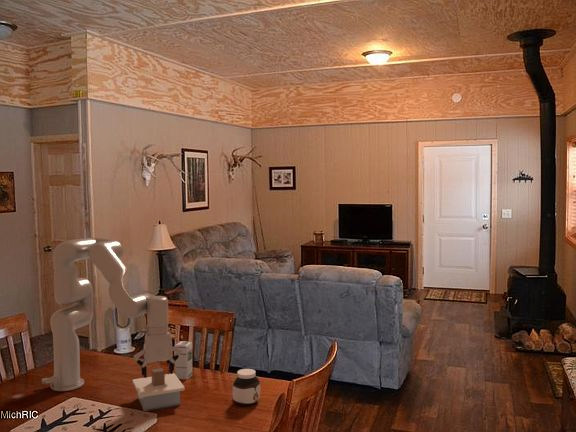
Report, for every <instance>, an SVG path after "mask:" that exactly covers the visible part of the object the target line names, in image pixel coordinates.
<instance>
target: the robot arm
mask: <svg viewBox="0 0 576 432" xmlns="http://www.w3.org/2000/svg"><path fill="white" fill-rule="evenodd" d="M124 252H125V251H124V247H123V245H122V244H121V243H120V242H119V241H118V240H115V239H106V238H99V237H85V238H77V239H70V240H69V239H68V240H65V241H62V242H60V243H59V244H58V245H56V246H55V248H54V249H53V251H52V263H53V270H54V273H53V274H54V276H53V277H54V280H53V281H54V282H53V284H54V285H53V287H54V291H53V292H54V300H55V302H56V303H57V304H58V305H60V306H65V307H62V308H59V309H58V310H56V311H55V312H53V314H51V316H50V319H49V323H50V329H51V333H52V341H53V342H52V343H53V374H52V375H53V376H50V377H45V378H44V377H43V378H41V384H45V385H49V387H50V390H52V391H55V392H68V391H74V390H76V389H79V388H82V386H84V384H85V379H83V378H81V363H80V361H81V360H80V356H81V355H80V340H79V336H78V334H77V333H76V330H77V329H79V328H82V327H86V326H87V325H89V324H90V323H92V320H93V318H94V317H93V316H94V288H93V285H92V283H91V282H90V280H89V279H87V278H86V277H78V274H79V273H78V268H77V265H76V264H75V262H79V261H85V260H91V262H92V263H93V265H95V267H96V268H97V269H98V270H99V272H100V273H101V275H102V276H103V277H104V279H105V280H106V281H107V283H108V292H109V298H110V301H111V303H112V304H113V306H114V307H115V308H116V310H118V312H119V313H120V314H121V315H122V316H123V317H125V318H128V319H134V318H137V317H140V316H141V315H146V314H147V315H146V316H147V319H146V323H147V325H146V327H143V331H142V332H143V333H144V332H145V334H144V342H143V349H142V350H141V351H138V352H137V353H135V354H134V355H133V358H134V361H136V363H137V365H139V366H141V376H143V378H146V377H148V376H147V374H148V373H147V364H149V363H158V362H165V361H168V372H169V374H173V373H174V372H175V361H176V360H177V359H178V358H179V355H180V353H181V350H180V349H178V348H175V346H173V341H172V334H171V332H170V331H169V300H168V297H167V296H163V295H154V294H151V293H148V292H144V293H140V294H136V295H133V296H130V294H129V293H128V292H127V290H126V289H125V286H124V284H123V280H124V278H126V276H127V275H128V272H129V270H128V268H127V266H126V265H125V264H124V262H122V260H121V259H122V258H123V256H124ZM72 304H73V305H72ZM68 305H69V306H68ZM175 352H176V354H175ZM173 353H174V354H173ZM142 356H143V359H142V360H141V359H140V358H141V357H142Z"/></svg>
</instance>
